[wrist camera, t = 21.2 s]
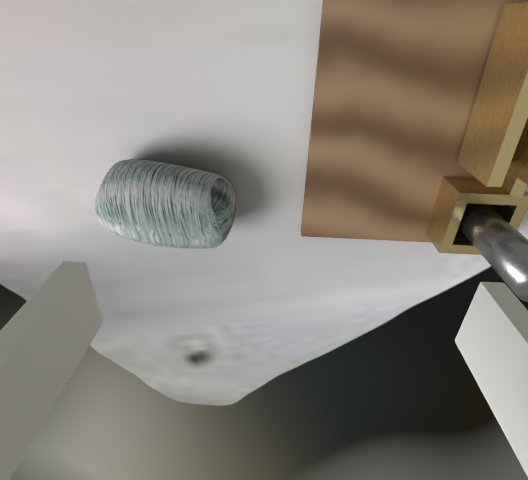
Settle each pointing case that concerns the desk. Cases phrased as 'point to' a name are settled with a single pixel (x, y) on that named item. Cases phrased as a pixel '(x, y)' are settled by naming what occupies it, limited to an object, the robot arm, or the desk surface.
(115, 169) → the spool
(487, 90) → the tan flat bar
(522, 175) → the fixed leaf
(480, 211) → the pin
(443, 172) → the board
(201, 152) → the desk surface
